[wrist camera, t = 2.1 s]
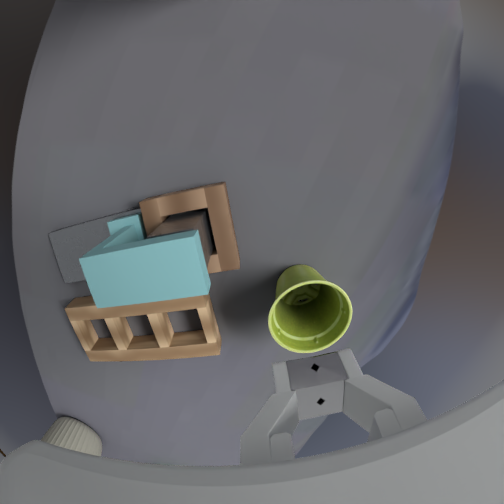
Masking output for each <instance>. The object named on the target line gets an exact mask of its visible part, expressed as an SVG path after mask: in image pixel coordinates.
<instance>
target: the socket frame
mask: <svg viewBox="0 0 504 504" xmlns="http://www.w3.org/2000/svg"><path fill="white" fill-rule="evenodd" d="M139 204H140V208H138V209H134V210H129V211H125V212H121V213H117V214H114V215H110V216H106V217H102V218H98V219H95V220H91V221H87V222H84V223H80V224H77V225H73V226H70V227H66V228H63V229H60V230H56V231H53V232H51V233H49V237H50V241H51V244H52V247H53V250H54V253H55V256H56V259H57V262H58V265H59V268H60V271H61V274H62V276H63V279H64V282H65V283H71V282H77V281H83V280H86V278H85V276H84V273H83V270H82V267H81V264H80V261H79V258H81V257H82V256H83V255H85V254H86V253H87V252H89V251H90V250H92V249H93V248H94V247H96V246H97V245H98V244H100V243H101V242H103V241H104V240H105V239H107V238H108V237H110V236H111V235H110V231H109V228H108V224H107V222H109V221H111V220H114V219H118V218H122V217H126V216H131V215H135V214H139V213H141V215H142V219H143V223H144V227H145V231H146V235H147V236H149V235H150V234H151V233H152V232H153V231H154V230H155V229H156V228H157V227H158V226H160V225H161V224H162V223H163V222H164V221H165V220H166V219H167V218H169V217H168V215H171V214H176V213H181V212H186V211H191V210H196V209H201V208H207V207H208V212H209V217H210V221H211V226H212V231H213V236H214V240H215V245H216V247H214V248H213V251H212V254H211V257H210V260H209V264H208V267H207V271H208V274H209V273H216V272H222V271H228V270H234V269H240V257H239V252H238V246H237V241H236V236H235V231H234V226H233V220H232V215H231V210H230V204H229V199H228V194H227V188H226V183H225V182H221V183H216V184H210V185H205V186H200V187H195V188H190V189H186V190H181V191H176V192H172V193H167V194H163V195H159V196H154V197H150V198H147V199H145V200H143V201H141V202H139Z"/></svg>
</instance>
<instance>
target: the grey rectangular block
mask: <svg viewBox="0 0 504 504" xmlns="http://www.w3.org/2000/svg"><path fill="white" fill-rule="evenodd" d="M192 230H198V232H199V236H200V241H201V245H202V250H203V254H204V258H205V262H206V266H207V267H208V264H209V260H210V257H211V254H212V251H213V248H214V245H215V241H214V236H213V231H212V227H211V222H210V217H209V212H208V207H207V208H202V209H197V210H192V211H187V212H182V213H177V214H172V215H171V216H170V217H169V218H167V219H166V220H165V221H164V222H163V223H162V224H161V225H160V226H158V227H157V228H156V229H155V230H154V231H153V232H152V233H151V234H150V235H149V236H147V237H146V238H147V239H151V238H156V237H161V236H166V235H171V234H176V233H182V232H187V231H192Z"/></svg>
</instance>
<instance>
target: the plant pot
mask: <svg viewBox="0 0 504 504" xmlns="http://www.w3.org/2000/svg"><path fill="white" fill-rule="evenodd" d="M315 283H318V284H317V285H315ZM300 286H302V287H301V288H298V287H300ZM306 298H308V299H307V300H306V301H303V302H298V300H303V299H306ZM351 318H352V305H351V302H350V299H349V297H348V296H347V294H346V293H345V292H344V291H343V290H342V289H341V288H340V287H339V286H337V285H335V284H333V283H331V282H328V281H326V280H325V279H324V278H323V277H322V276H321V275H320V274H319V273H318V272H317V271H316V270H315V269H313V268H312V267H309V266H307V265H294V266H291V267H289V268H288V269H286V270H285V271H284V272H283V273H282V274H281V276H280V277H279V279H278V281H277V286H276V298H275V301H274V302H273V304H272V306H271V308H270V311H269V315H268V326H269V330H270V333H271V335H272V337H273V338H274V340H275V341H276V342H277V343H278V344H279V345H281V346H282V347H284V348H286V349H288V350H290V351H293V352H298V353H311V352H316V351H320V350H323V349H325V348H327V347H329V346H331V345H332V344H334V343H335V342H336V341H338V340H339V339H340V338H341V337H342V336H343V334H344V333H345V332H346V330H347V328H348V327H349V324H350V322H351Z"/></svg>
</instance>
